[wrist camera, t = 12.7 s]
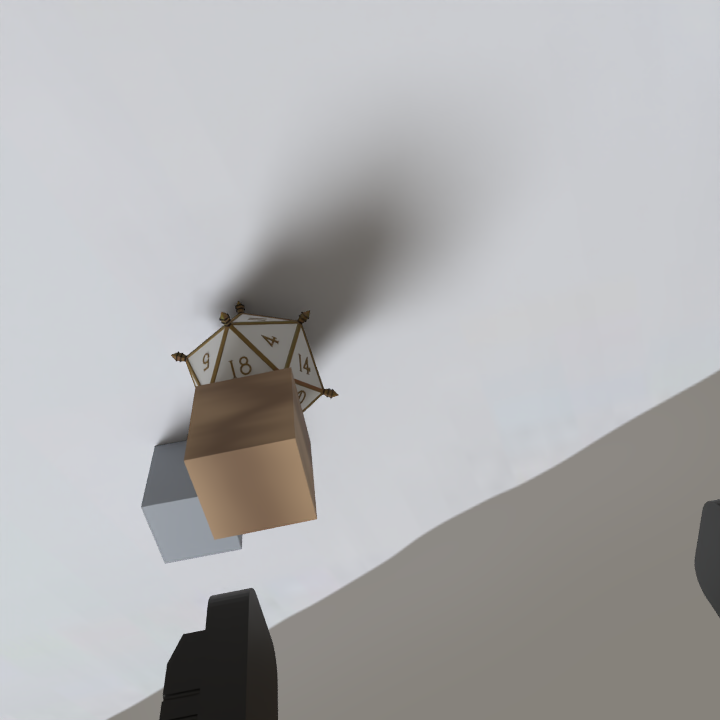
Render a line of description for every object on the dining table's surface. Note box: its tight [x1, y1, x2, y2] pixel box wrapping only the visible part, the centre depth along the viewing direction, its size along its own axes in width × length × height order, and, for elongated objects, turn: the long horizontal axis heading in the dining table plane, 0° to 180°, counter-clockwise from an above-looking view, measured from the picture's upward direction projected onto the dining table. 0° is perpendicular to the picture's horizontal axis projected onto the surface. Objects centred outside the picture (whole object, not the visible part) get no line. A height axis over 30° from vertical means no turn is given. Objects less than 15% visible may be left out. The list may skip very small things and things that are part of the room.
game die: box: [171, 301, 338, 412], centre depth 40 cm, size 9×8×10 cm
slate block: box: [141, 440, 242, 563], centre depth 46 cm, size 5×5×6 cm
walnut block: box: [184, 367, 317, 540], centre depth 34 cm, size 5×5×6 cm
